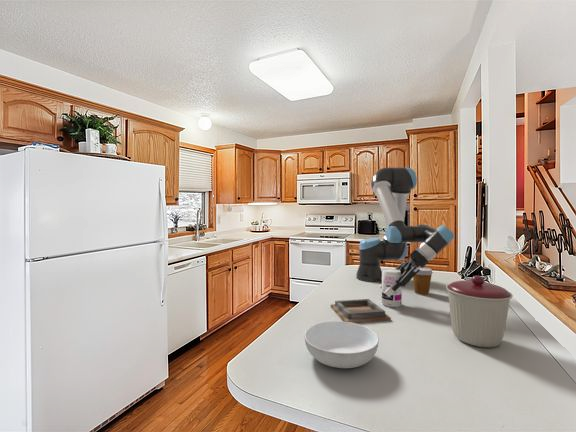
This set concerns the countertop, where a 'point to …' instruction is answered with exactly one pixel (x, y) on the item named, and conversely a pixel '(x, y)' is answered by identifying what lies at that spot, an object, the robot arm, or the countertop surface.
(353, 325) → the serving bowl
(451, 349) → the countertop surface
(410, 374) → the countertop surface
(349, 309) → the jig plate
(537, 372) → the countertop surface
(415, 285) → the disposable coffee cup
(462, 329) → the canister
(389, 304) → the supplement can
